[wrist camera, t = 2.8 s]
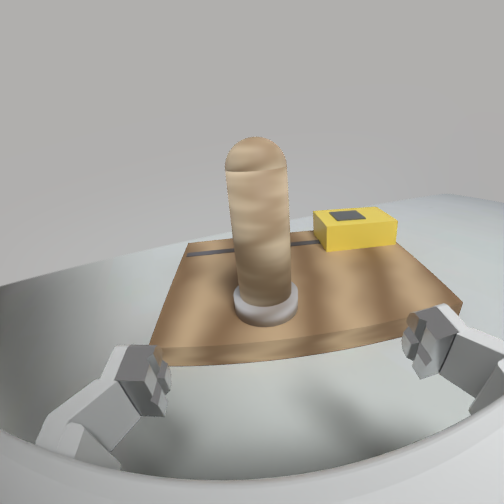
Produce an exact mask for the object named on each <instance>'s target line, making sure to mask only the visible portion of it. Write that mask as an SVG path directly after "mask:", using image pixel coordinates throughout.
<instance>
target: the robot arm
mask: <svg viewBox="0 0 504 504" xmlns="http://www.w3.org/2000/svg"><path fill="white" fill-rule="evenodd" d="M406 323H407V325H408V327H407V329H406V330H405V331H404V332H403V336H402V349H403V352H404V354H405V356H406V357H407V358H408V359H410V360H412V361H413V364H412V367H413V369H414V370H415V372H416V374H417V375H418V377H419V379H423V378H426V377H429V376H432V375H435V374H438V373H439V374H440V375H441V376H443V377H444V378H446V379H447V380H449V381H450V382H452V383H453V384H455V385H456V386H458V387H459V388H461V389H462V390H464V391H465V392H467V393H468V394H470V395H471V396H473V397H474V398H475V400H474V401H473V403H472V404H471V406H470V407H469V410H468V411H469V412H470V414H471V416H469V417H467V418H465V419H463V420H462V421H460V422H458V423H456V424H454V425H452V426H450V427H448V428H446V429H444V430H442V431H440V432H438V433H435V434H433V435H431V436H429V437H427V438H424V439H422V440H420V441H417V442H415V443H412V444H410V445H407V446H404V447H402V448H399V449H396V450H394V451H391V452H388V453H385V454H382V455H379V456H376V457H372V458H369V459H366V460H362V461H359V462H355V463H351V464H347V465H343V466H339V467H335V468H330V469H325V470H320V471H315V472H309V473H303V474H297V475H290V476H282V477H273V478H262V479H247V480H193V479H178V478H167V477H158V476H150V475H143V474H137V473H131V472H126V471H121V470H120V469H121V464H120V462H119V461H118V460H117V459H116V458H115V457H114V456H113V455H111V454H110V452H111V451H112V449H113V448H114V447H115V446H116V445H117V444H118V443H119V442H120V441H121V439H122V438H123V437H124V436H125V435H126V434H127V433H128V432H129V431H130V429H131V428H132V427H133V426H134V425H135V424H136V423H137V422H138V420H139V419H140V418H141V416H150V417H165V414H166V409H167V404H168V400H167V398H166V396H165V395H166V394H167V393H168V392H169V391H170V389H171V384H172V381H171V371H170V368H169V365H168V363H166V362H165V361H164V360H162V359H163V355H164V353H163V351H162V349H161V347H160V346H158V345H116V346H115V347H114V349H113V351H112V353H111V355H110V357H109V359H108V361H107V363H106V366H105V368H104V370H103V372H102V374H101V377H100V379H95V380H94V381H92V382H91V383H90V384H88V385H87V386H86V387H84V388H83V389H82V390H80V391H79V392H78V393H76V394H75V395H73V396H72V397H71V398H69V399H68V400H67V401H65V402H64V403H63V404H61V405H60V406H59V407H57V408H56V409H55V410H53V411H52V412H51V413H49V414H48V415H47V417H46V419H45V421H44V423H43V426H42V428H41V430H40V432H39V435H38V437H37V439H36V442H35V444H32V443H29V442H27V441H25V440H23V439H20V438H18V437H16V436H14V435H12V434H10V433H8V432H6V431H4V430H2V429H0V504H504V340H502V339H499V338H497V337H495V336H492V335H490V334H487V333H485V332H482V331H480V330H477V329H475V328H469V327H468V326H467V325H466V324H465V323H464V322H463V321H462V319H461V318H460V317H459V316H458V315H457V314H456V313H455V312H454V311H453V310H452V309H451V308H450V307H449V306H448V305H447V304H445V303H443V304H439V305H436V306H433V307H430V308H426V309H422V310H418V311H414V312H410V314H409V315H408V317H407V320H406Z"/></svg>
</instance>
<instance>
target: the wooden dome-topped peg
mask: <svg viewBox="0 0 504 504" xmlns="http://www.w3.org/2000/svg"><path fill="white" fill-rule="evenodd" d="M225 171H226V181H227V190H228V199H229V208H230V217H231V225H232V234H233V243H234V251H235V259H236V267H237V275H238V283H239V285H238V286H237V288H236V289H235V291H234V303H235V310H236V314H237V316H238V318H239V319H240V320H241V321H243V322H244V323H246V324H248V325H251V326H256V327H273V326H278V325H281V324H283V323H286V322H287V321H289V320H290V319H292V318H293V317H294V316H295V314H296V313H297V310H298V289H297V286H296V285H295V284H294V283H293V282H292V281H291V249H290V222H289V199H288V182H287V165H286V159H285V156H284V154H283V152H282V151H281V149H280V148H279V147H278V146H277V145H276V144H275V143H274V142H272V141H270V140H268V139H266V138H262V137H250V138H246V139H243V140H241V141H240V142H238V143H237V144H235V145H234V146H233V148H232V149H231V150H230V151H229V153H228V155H227V158H226V162H225Z"/></svg>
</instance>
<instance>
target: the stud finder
mask: <svg viewBox="0 0 504 504" xmlns="http://www.w3.org/2000/svg"><path fill="white" fill-rule="evenodd" d="M397 224H398V221H397V220H396V219H394V218H393V217H391V216H390V215H388V214H387V213H385V212H383V211H382V210H380V209H379V208H377V207H365V208H349V209H336V210H322V211H313V227H314V235H315V236H316V237H317V239H318V240H319V241H320V243H321V245H322V246H323V248H324V249H325V251H326V252H332V251H342V250H351V249H360V248H369V247H378V246H387V245H395V244H396V235H397Z"/></svg>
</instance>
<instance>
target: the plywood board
mask: <svg viewBox="0 0 504 504" xmlns="http://www.w3.org/2000/svg"><path fill="white" fill-rule="evenodd" d="M290 249H291V281H292V282H293V283H294V284H295V285H296V286H297V289H298V310H297V313H296V314H295V316H294V317H293V318H292V319H290V320H289V321H287V322H286V323H283V324H281V325H278V326H273V327H256V326H251V325H248V324H246V323H244V322H243V321H241V320H240V319H239V318H238V316H237V314H236V310H235V303H234V291H235V289H236V288H237V286H238V285H239V283H238V275H237V267H236V259H235V251H234V243H233V238H232V239H222V240H213V241H204V242H195V243H188V245H187V248H186V250H185V253H184V255H183V257H182V260H181V262H180V265H179V267H178V269H177V272H176V274H175V277H174V279H173V282H172V284H171V287H170V290H169V292H168V295H167V297H166V300H165V302H164V305H163V308H162V310H161V313H160V316H159V318H158V321H157V324H156V327H155V329H154V332H153V335H152V338H151V340H150V343H149V345H158V346H160V347H161V349H162V351H163V353H164V355H163V359H162V360H164V361H165V362H166V363H168V365H169V366H201V365H221V364H236V363H248V362H259V361H269V360H278V359H286V358H294V357H301V356H308V355H314V354H321V353H327V352H333V351H338V350H344V349H349V348H354V347H359V346H364V345H368V344H373V343H378V342H382V341H386V340H390V339H394V338H399V337H402V336H403V332H404V331H405V330H406V329H407V327H408V325H407V323H406V320H407V317H408V315H409V314H410V312H414V311H418V310H422V309H426V308H430V307H433V306H436V305H439V304H443V303H445V304H447V305H448V306H449V307H450V308H451V309H452V310H453V311H454V312H455V313H456V314H457V315H458V316H459V313H460V310H461V307H462V304H463V302H462V301H461V300H460V299H459V298H458V297H457V296H456V295H455V294H454V293H453V292H452V291H451V290H450V289H449V288H448V287H447V286H446V285H444V284H443V283H442V282H441V281H440V280H439V279H438V278H437V277H436V276H435V275H434V274H433V273H431V272H430V271H429V270H428V269H427V268H426V267H425V266H424V265H423V264H421V263H420V262H419V261H418V260H417V259H416V258H415V257H413V256H412V255H411V254H410V253H409V252H408V251H406V250H405V249H404V248H403V247H402V246H400V245H399V244H398V243H397V242H396V244H395V245H387V246H378V247H369V248H360V249H351V250H342V251H332V252H326V251H325V249H324V248H323V246H322V245H321V243H320V241H319V240H318V239H317V237H316V236H315V235H314V230H313V231H302V232H292V233H290Z"/></svg>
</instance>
